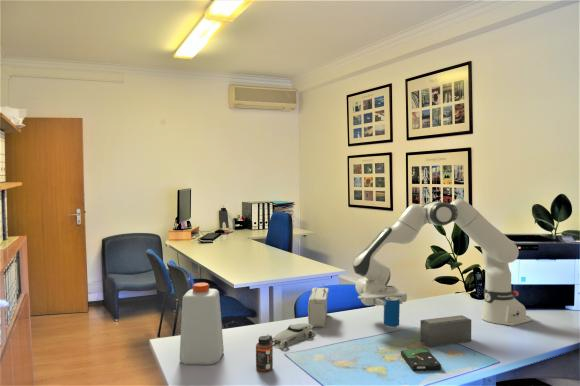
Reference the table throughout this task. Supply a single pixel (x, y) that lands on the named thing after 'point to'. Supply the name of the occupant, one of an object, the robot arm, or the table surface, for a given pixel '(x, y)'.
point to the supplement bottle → (264, 354)
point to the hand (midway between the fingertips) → (392, 302)
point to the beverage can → (391, 311)
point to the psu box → (445, 331)
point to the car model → (292, 335)
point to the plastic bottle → (201, 326)
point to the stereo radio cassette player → (317, 307)
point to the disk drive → (420, 360)
